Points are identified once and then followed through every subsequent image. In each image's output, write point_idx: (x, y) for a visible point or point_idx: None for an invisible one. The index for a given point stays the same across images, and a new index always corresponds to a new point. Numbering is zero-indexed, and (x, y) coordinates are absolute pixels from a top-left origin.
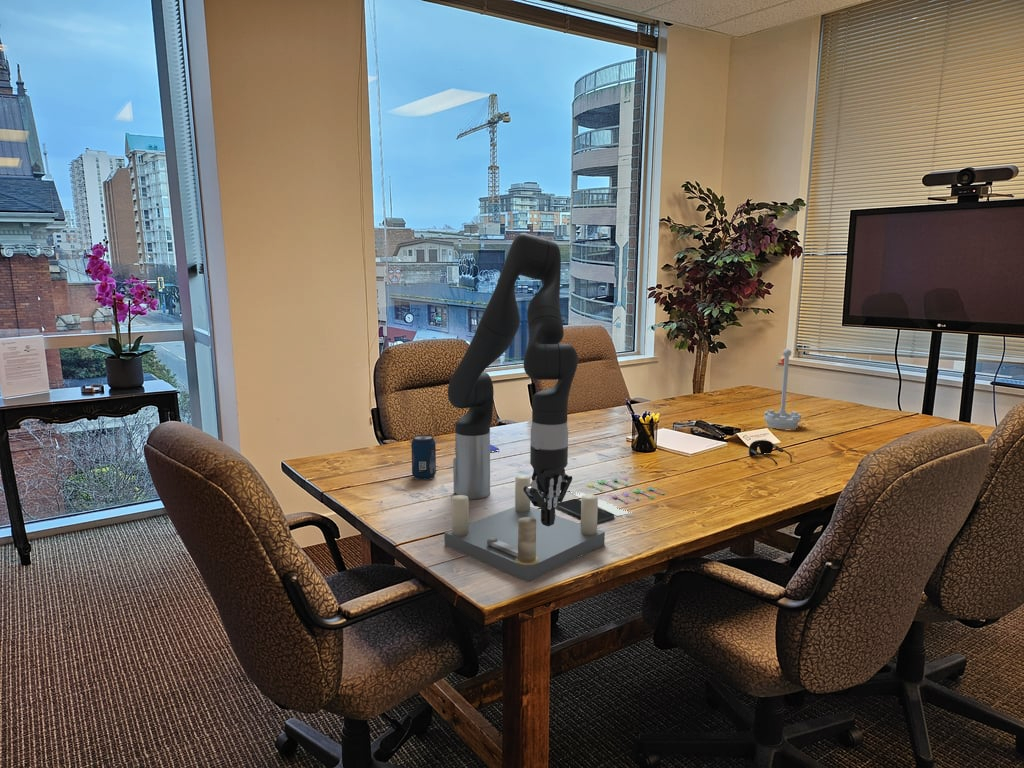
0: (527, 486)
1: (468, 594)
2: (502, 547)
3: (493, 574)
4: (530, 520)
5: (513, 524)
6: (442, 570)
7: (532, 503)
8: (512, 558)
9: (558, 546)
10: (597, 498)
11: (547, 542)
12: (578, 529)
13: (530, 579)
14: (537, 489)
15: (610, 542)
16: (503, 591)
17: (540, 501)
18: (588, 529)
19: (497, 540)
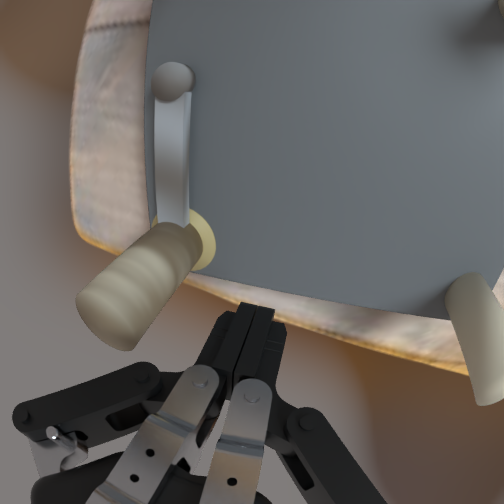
0: (25, 435)
1: (74, 182)
2: (155, 151)
3: (143, 156)
4: (114, 333)
5: (404, 23)
6: (90, 62)
7: (119, 370)
8: None
9: (325, 270)
10: (492, 403)
11: (334, 226)
12: (476, 262)
13: None
14: (82, 458)
15: None
16: (117, 225)
17: (119, 420)
18: (449, 315)
19: (180, 97)
